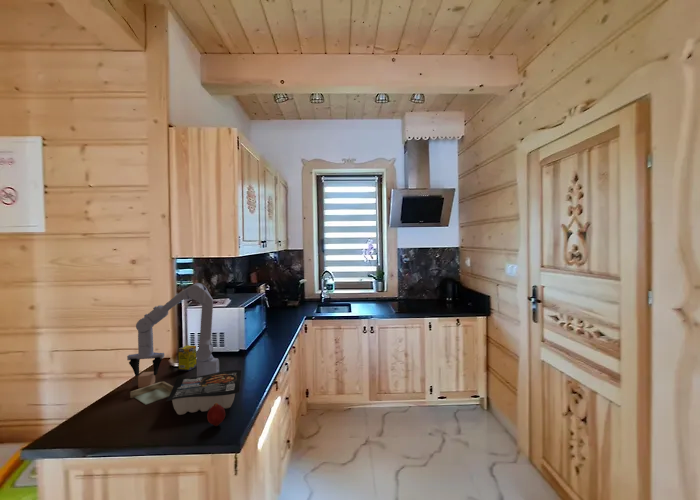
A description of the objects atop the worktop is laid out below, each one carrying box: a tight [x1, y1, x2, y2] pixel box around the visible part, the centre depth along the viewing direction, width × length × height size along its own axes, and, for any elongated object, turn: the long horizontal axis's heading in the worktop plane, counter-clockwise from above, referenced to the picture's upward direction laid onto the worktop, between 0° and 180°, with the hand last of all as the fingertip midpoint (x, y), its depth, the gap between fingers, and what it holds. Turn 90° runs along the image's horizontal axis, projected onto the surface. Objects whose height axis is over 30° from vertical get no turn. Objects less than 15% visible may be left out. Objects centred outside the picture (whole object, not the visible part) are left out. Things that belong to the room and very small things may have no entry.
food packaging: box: [166, 369, 242, 416], centre depth 136 cm, size 25×8×23 cm
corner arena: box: [129, 380, 174, 406], centre depth 141 cm, size 13×13×2 cm
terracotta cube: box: [137, 370, 156, 389], centre depth 152 cm, size 5×5×5 cm
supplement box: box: [177, 344, 197, 372], centre depth 170 cm, size 6×6×11 cm
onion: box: [206, 403, 226, 427], centre depth 117 cm, size 6×6×8 cm
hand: (146, 374), depth 152 cm, fingers open, 7 cm apart
